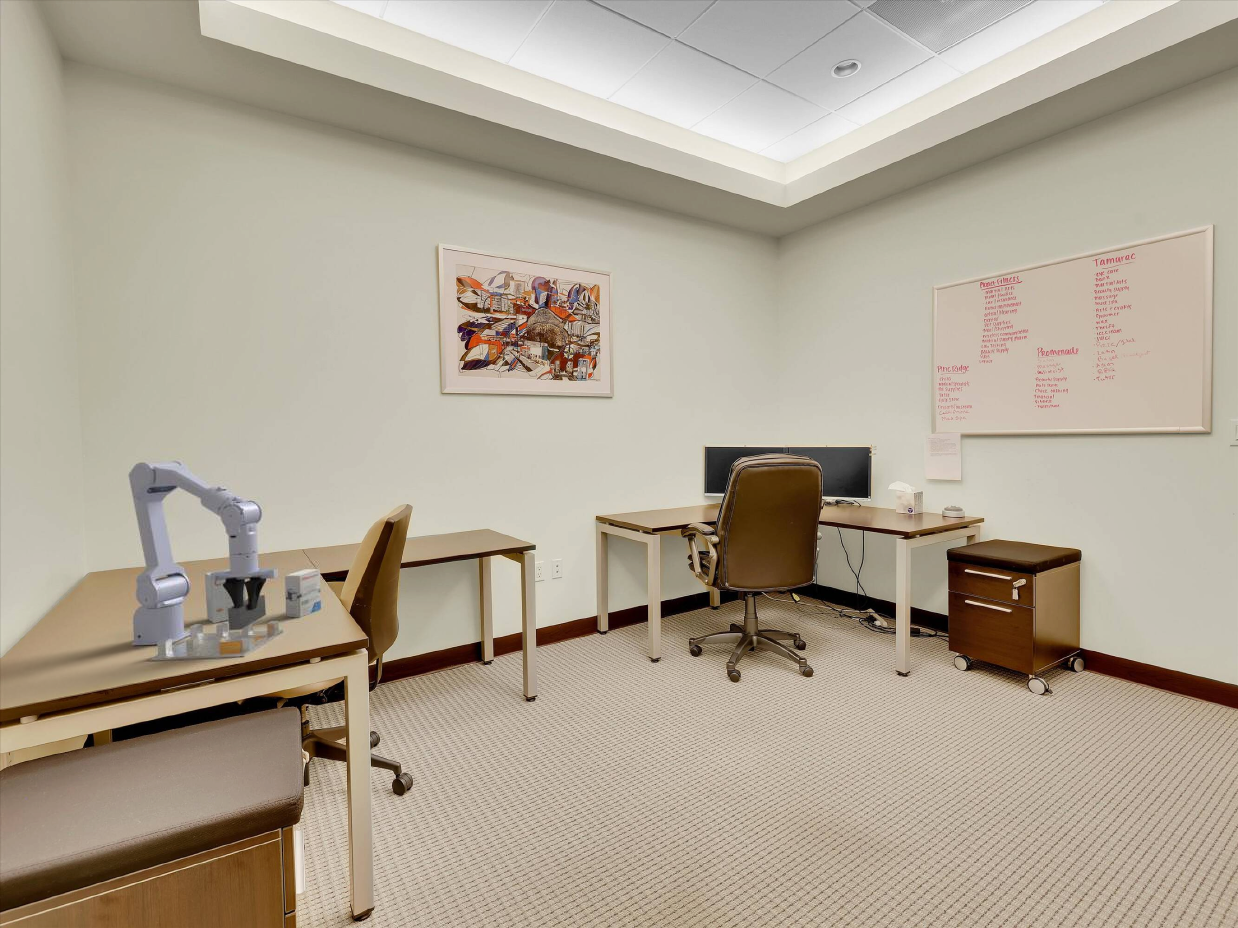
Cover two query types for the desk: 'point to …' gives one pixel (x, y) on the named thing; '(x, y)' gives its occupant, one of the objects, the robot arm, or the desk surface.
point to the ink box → (302, 592)
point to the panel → (245, 614)
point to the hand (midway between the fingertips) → (246, 609)
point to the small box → (218, 599)
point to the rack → (217, 642)
